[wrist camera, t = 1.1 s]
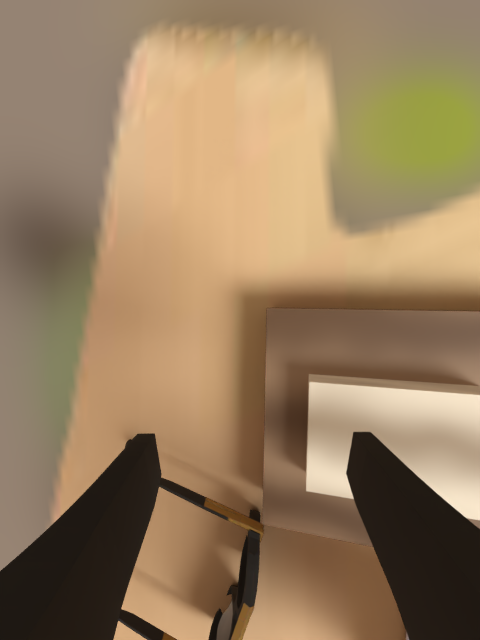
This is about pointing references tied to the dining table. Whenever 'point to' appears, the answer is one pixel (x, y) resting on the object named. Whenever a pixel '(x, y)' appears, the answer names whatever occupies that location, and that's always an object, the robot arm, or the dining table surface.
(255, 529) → the sunglasses
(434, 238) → the dining table surface
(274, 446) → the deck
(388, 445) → the cream rectangular block
